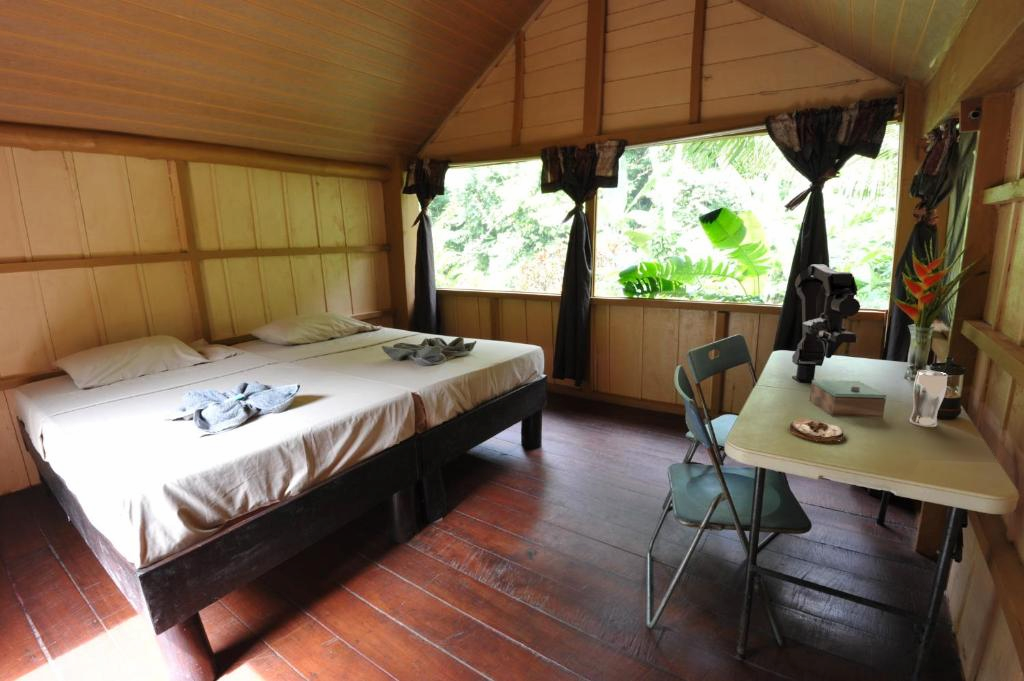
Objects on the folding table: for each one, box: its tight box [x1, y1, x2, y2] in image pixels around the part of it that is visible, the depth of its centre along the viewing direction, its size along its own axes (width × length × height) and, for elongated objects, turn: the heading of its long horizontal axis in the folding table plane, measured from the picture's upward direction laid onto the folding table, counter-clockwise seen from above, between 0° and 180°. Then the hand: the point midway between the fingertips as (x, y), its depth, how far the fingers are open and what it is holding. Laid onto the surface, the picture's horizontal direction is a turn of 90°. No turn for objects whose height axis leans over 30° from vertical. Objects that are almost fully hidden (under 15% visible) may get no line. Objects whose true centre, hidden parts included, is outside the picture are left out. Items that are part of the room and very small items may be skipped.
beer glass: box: [909, 369, 948, 428], centre depth 139 cm, size 7×7×15 cm
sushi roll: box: [789, 417, 844, 443], centre depth 134 cm, size 15×15×4 cm
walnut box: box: [808, 382, 887, 419], centre depth 151 cm, size 14×14×6 cm
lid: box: [811, 379, 887, 399], centre depth 150 cm, size 14×14×2 cm
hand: (827, 357), depth 161 cm, fingers closed
